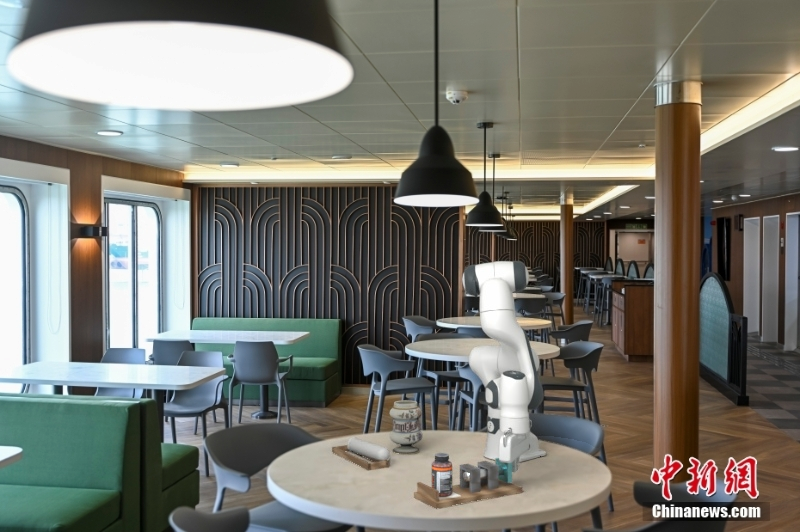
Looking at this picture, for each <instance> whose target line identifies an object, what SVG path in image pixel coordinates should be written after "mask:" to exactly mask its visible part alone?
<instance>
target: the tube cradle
mask: <svg viewBox="0 0 800 532" xmlns="http://www.w3.org/2000/svg"><path fill="white" fill-rule="evenodd" d="M345 451H347V452H345ZM332 452H333V453H332ZM349 452H350V451H349V450H348V449H347V444H346V445H345V444H344V445H338V446H337V445H336V446H331V453H332V454H334V453H335V454H334V455H336V454H337V455H336V456H338V455H339V456H338V457H340V456H341V457H340V458H342V457H343V459H344V458H345V459H344V460H346V459H347V460H346V461H348V460H349V461H348V462H350V461H351V462H350V463H352V462H353V463H352V464H354V463H355V464H354V465H356V464H357V465H356V466H358V465H359V466H358V467H360V466H361V467H360V468H362V469H364V470H366V471H372V470H378V469H379V470H380V469H385V468H386V469H387V468H389V467H390V460H389V459H388V460H385V461H378V460H375V459H372V458H369V457H367V456H364V455H362V456H364V457H366V458H365V459H367V458H368V459H367V460H369V459H370V460H369V461H371V460H372V461H371V462H368V461H366V460H364V459H361V457H362V456H361V457H360V458H359V457H358V456H356V455H353V454H351V453H349ZM354 454H356V452H355V453H354ZM360 455H361V454H360ZM360 455H359V456H360ZM364 457H363V458H364Z"/></svg>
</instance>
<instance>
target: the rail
mask: <svg viewBox="0 0 800 532" xmlns="http://www.w3.org/2000/svg"><path fill="white" fill-rule="evenodd" d="M484 468H486V469H488V478H484V479H480V469H484ZM466 471H468V472H470V481H467V482H466V481H465V480H464V478H463V473H464V472H466ZM416 487H417V488H416V489H417V490H416V491H415V492H413V498H415V499H416V500H417V501H420V502H422V503H424V504H425V505H428V506H429V505H430V506H429V507H431V506H432V508H433V507H434V508H433V509H435V508H436V509H435V510H438V509H437V508H439V509H443V508H442V507H445V508H447V507H446V506H450V507H453V506H452V505H455V506H457V505H456V504H460V505H462V504H461V503H465V504H467V503H466V502H471V501H476V502H478V501H477V500H481V499H486V500H488V499H487V498H491V499H494V498H493V497H497V498H500V497H499V496H502V497H505V496H504V495H507V496H511V494H512V495H517V494H521V493H523V487H522V486H520V485H517V484H515V483H513V482H511V483H506V482H504V481H501V480H499V479H498V465H496V464H495V463H492V462H490V461H487V460H482V461H477V466H475V465H472V464H470V463H464V464H459V484H455V485H453V484H452V494H451V495H449V496H446V497H440V496H439V491H438V490H436V489H434V488H432V486H429V485H428V484H425V483H423V482H421V481H420V482H419V481H418V482H416ZM516 493H517V494H516ZM481 501H482V500H481ZM471 503H472V502H471Z"/></svg>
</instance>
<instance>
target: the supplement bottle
mask: <svg viewBox="0 0 800 532" xmlns="http://www.w3.org/2000/svg"><path fill="white" fill-rule="evenodd" d="M452 486H453V464H452V462H451V461H450V454H449V453H445V452H437V453H435V455H434V461H432V462H431V487H432V488H434V489H436V490H438V491H439V496H440V497H446V496H449V495H451V494H452Z"/></svg>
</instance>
